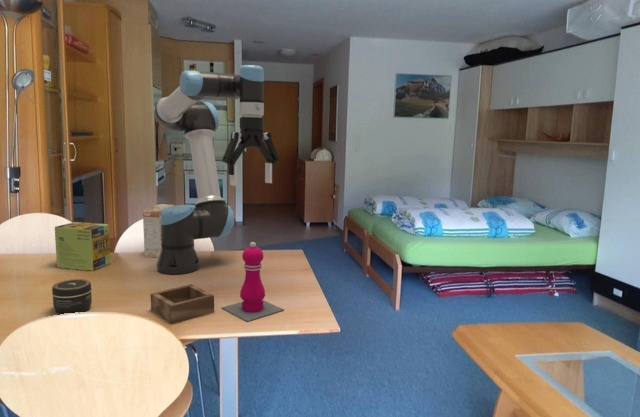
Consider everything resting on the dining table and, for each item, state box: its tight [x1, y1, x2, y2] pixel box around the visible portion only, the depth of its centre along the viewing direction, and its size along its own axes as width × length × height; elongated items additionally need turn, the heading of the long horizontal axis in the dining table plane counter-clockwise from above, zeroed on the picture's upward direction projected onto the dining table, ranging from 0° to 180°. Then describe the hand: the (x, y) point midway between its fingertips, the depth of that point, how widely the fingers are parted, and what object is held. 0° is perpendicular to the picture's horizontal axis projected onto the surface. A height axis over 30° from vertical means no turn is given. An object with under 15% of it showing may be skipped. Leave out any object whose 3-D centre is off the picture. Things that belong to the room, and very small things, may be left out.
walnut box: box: [150, 283, 215, 325], centre depth 139 cm, size 13×13×5 cm
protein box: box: [54, 221, 112, 272], centre depth 179 cm, size 10×15×16 cm
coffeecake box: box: [142, 203, 176, 259], centre depth 200 cm, size 15×7×20 cm, turn 171°
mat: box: [221, 299, 285, 323], centre depth 142 cm, size 13×13×1 cm
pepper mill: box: [239, 241, 266, 312], centre depth 140 cm, size 7×7×20 cm
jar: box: [51, 278, 93, 315], centre depth 138 cm, size 10×10×8 cm
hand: (251, 184), depth 155 cm, fingers open, 13 cm apart
